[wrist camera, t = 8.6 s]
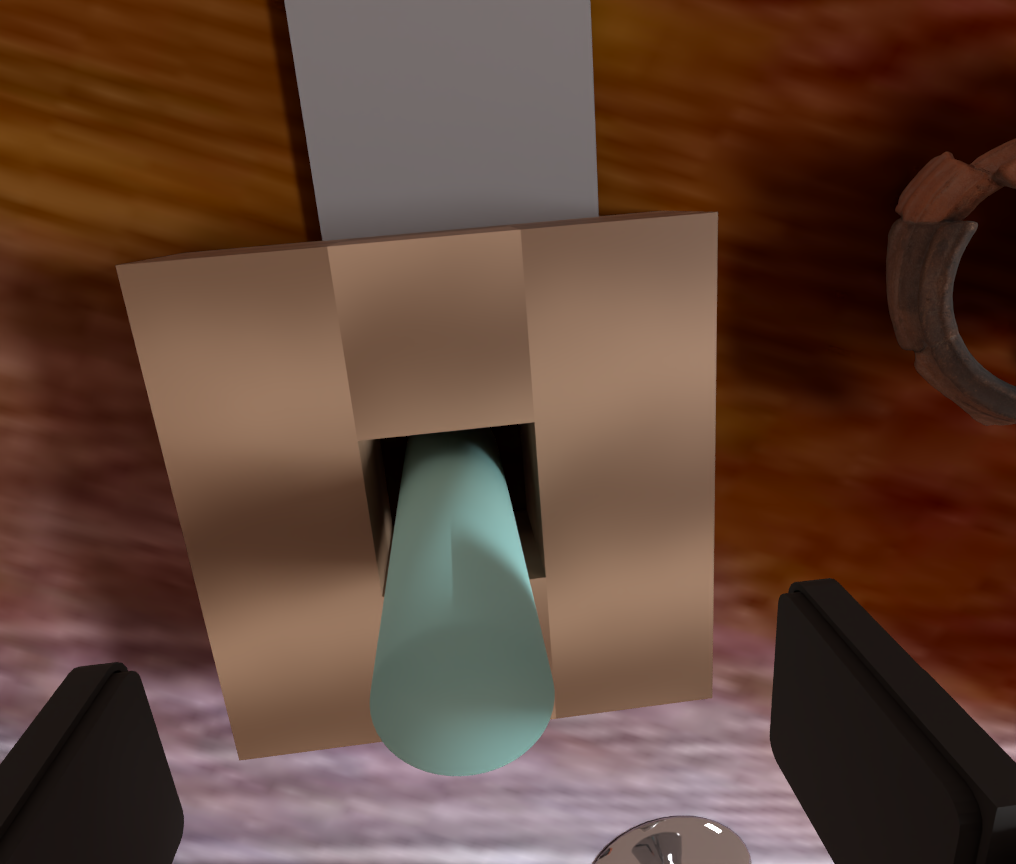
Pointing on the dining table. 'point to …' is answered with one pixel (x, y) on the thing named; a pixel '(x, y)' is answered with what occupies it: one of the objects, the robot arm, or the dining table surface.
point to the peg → (458, 616)
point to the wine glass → (677, 844)
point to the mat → (445, 112)
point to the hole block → (430, 409)
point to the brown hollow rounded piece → (945, 277)
